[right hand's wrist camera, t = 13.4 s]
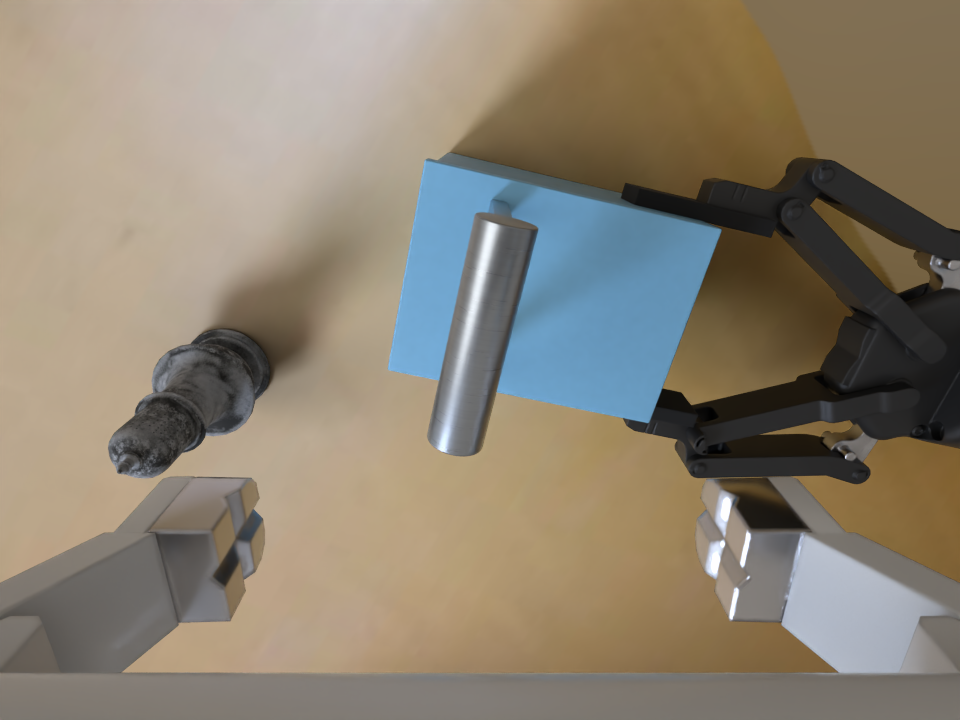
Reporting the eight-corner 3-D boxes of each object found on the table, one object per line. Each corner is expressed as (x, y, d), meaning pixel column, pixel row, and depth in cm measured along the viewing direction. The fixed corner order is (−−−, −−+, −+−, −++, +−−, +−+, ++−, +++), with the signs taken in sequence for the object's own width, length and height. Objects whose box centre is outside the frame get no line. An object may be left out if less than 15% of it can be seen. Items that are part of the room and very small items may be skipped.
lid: (390, 361, 27) (354, 456, 19) (427, 158, 24) (400, 172, 16) (643, 414, 28) (706, 523, 20) (713, 225, 25) (821, 270, 17)
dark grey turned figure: (198, 308, 35) (67, 391, 24) (288, 350, 36) (203, 449, 25) (169, 385, 37) (36, 495, 26) (255, 423, 38) (163, 545, 27)
